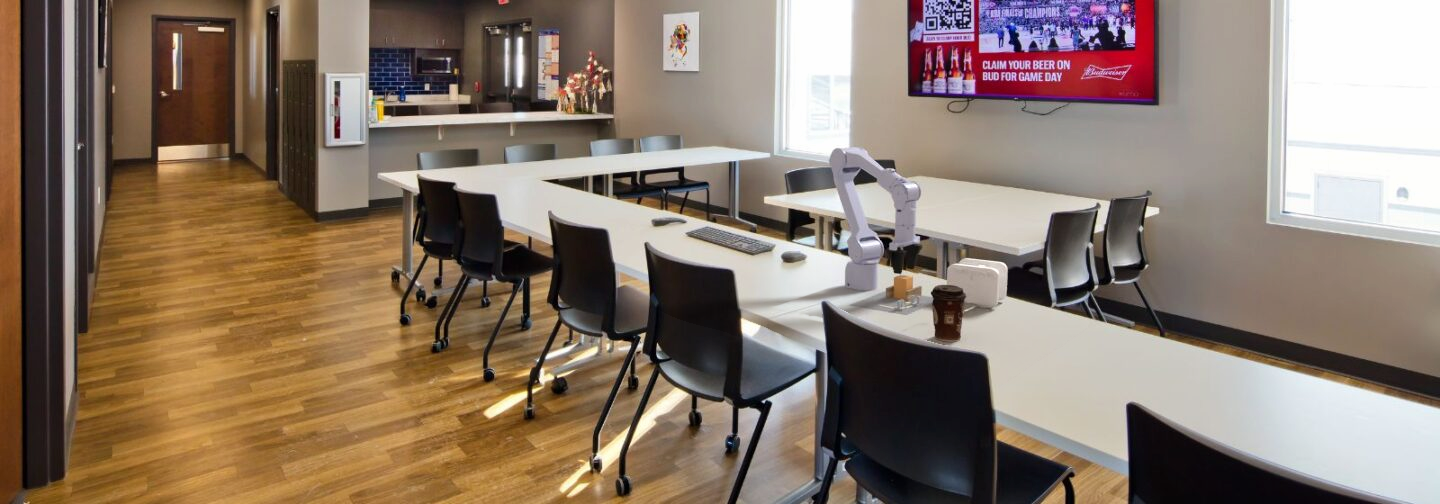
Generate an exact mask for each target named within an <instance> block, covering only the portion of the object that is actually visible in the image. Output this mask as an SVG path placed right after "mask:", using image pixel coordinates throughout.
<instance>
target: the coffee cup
mask: <svg viewBox="0 0 1440 504" xmlns="http://www.w3.org/2000/svg"><path fill="white" fill-rule="evenodd" d="M930 295H931V297H933V302H932V304H931V309H932V310H931V311H932V319H933V320H932V321H933V322H932V323H933V327H934V338H935V339H936V340H938V341H942V342H947V343H954V341H955V342H958V341H957V340H959V341H961V338H962V336H961V335H962V334H961V333H962V325H963V318H964V317H963V316H964V309H965V302H964V300H965V298H966V294H965V293H964V292H963V289H962V288H960V287H958V286H954V285H947V284H938V285H936V286H934V287H933V288H932V291H930Z"/></svg>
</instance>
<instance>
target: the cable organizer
mask: <svg viewBox="0 0 1440 504" xmlns="http://www.w3.org/2000/svg"><path fill="white" fill-rule="evenodd" d="M1008 268H1009V267H1008V266H1007V265H1006V263H1004V262H1002V261H997V260H996V261H995V260H985V259H977V258H969V257H966V258H962V259H960V261H959V262H958V263H952V264H950V265H949V266H948V267H947V269H946V285H954V286H958V287H960V288H962V289H963V292H964V293H965V294H966V298H965V300H964V303H967V304H974V306H975V307H977V308H983V309H987V308H993V307H995V306H997V305H998V304H999V301H1002V300H1004V299H1006V297H1007V295H1008V294H1007V291H1008V287H1007V286H1008V273H1009V271H1008V270H1009V269H1008Z"/></svg>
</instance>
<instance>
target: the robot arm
mask: <svg viewBox="0 0 1440 504" xmlns="http://www.w3.org/2000/svg"><path fill="white" fill-rule="evenodd" d="M828 163H829V165H830V168H831V171H832V175H833V182H834V186H835V188H836V190H837V194H838V197H839V200H840V203H841V206H842V209H843V212H844V215H845V218H846V221H847V223H848V224H847V225H848V227H849V231H850V233H851V234H850V236H849V238H848V239H847V241H846V244H847V249H848V251H847V253H848V256H849V259H850V260H849V261H847V263H846V265H845V268H844V288H847V289H852V290H853V289H854V290H856V291H864V292H865V291H866V292H869V291H876V290H877V289H878V288H879V287H878V286H879V284H878V283H879V280H878V279H879V278H878V277H879V262H880V261H881V258H882V257H883V256H884V252H885V248H884V244H883V242H882V240H880V238H879V235H878V233H877V232H875V231H874V230H872V229H871V228H869V224H868V221H867V218H866V216H865V213H864V210H863V206H862V204H861V201H860V198H859V194H858V191H857V188H856V185H855V183H854V179H855V178H856V176H857V175H858V174H859V172H860V171H861V169H862V170H863V171H865V173H868V174H869V175H871V176H873V177H874V178H875V179H876V183H877V184H878V185H879V186H880V187H881V188H882V189H884V190H885V191H886V192H887V193H888V194H890V196H891V199H892V200H893V207H894V209H895V216H894V217H895V222H894V239H893V240H892V242H890V243H889V247H887V248H886V254H887V255H888V256H889V260H890V262H891V265H892V266H891V267H892V271H893V273H894V274H898V275H902V273H903V268H904V261H905V266H906V269H907V270H914V269H915V267H916V264H917V260H918V258H919V254H920V252H921V250H922V249H923V244H921V243H920V242H921V236H919V235H916V224H917V223H916V222H917V221H916V220H917V219H916V218H917V201H919V200H920V198H921V195H922V190H921V187H920V185H919V184H918V183H917V182H916V181H914V180H913V181H909V180H907V178H906V177H904V176H901V175H900V174H898V173H897V172H896V169H894V168H890V167H888V168H884V167H883V166H881V165H880V164H879V163H878V162H877V161H875V160H874V158H872V157H871V156H870V155H869V152H868V151H867V150H866V149H864V148H863V147H861V146H858V145H857V146H853V147H837V148H834V149H833V150H832V152H831V153H830V157H829V159H828Z"/></svg>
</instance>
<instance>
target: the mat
mask: <svg viewBox="0 0 1440 504" xmlns="http://www.w3.org/2000/svg"><path fill="white" fill-rule="evenodd" d="M932 302H933V297H932V296H927V295H922V294H921V297H920V296H917V298H916V299H915V295H912V300H911V301H909V302H906V299H899V298H894V297H891V298H889V299H887V298H886V290H885V291H881V292H880V293H877V294H874V295H871V296H869V297H866V298H864V299H861V300H859V301H856V302H853V303H851V304H849V306H852V307H856V308H857V307H858V308H863V309H868V310H869V309H870V310H875V311H882V312H887V313H892V314H898V315H905V316H907V315H909V314H912V313H914V312H916V311H918V310H921V309H924V308H927V307H928V306H932Z"/></svg>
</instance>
